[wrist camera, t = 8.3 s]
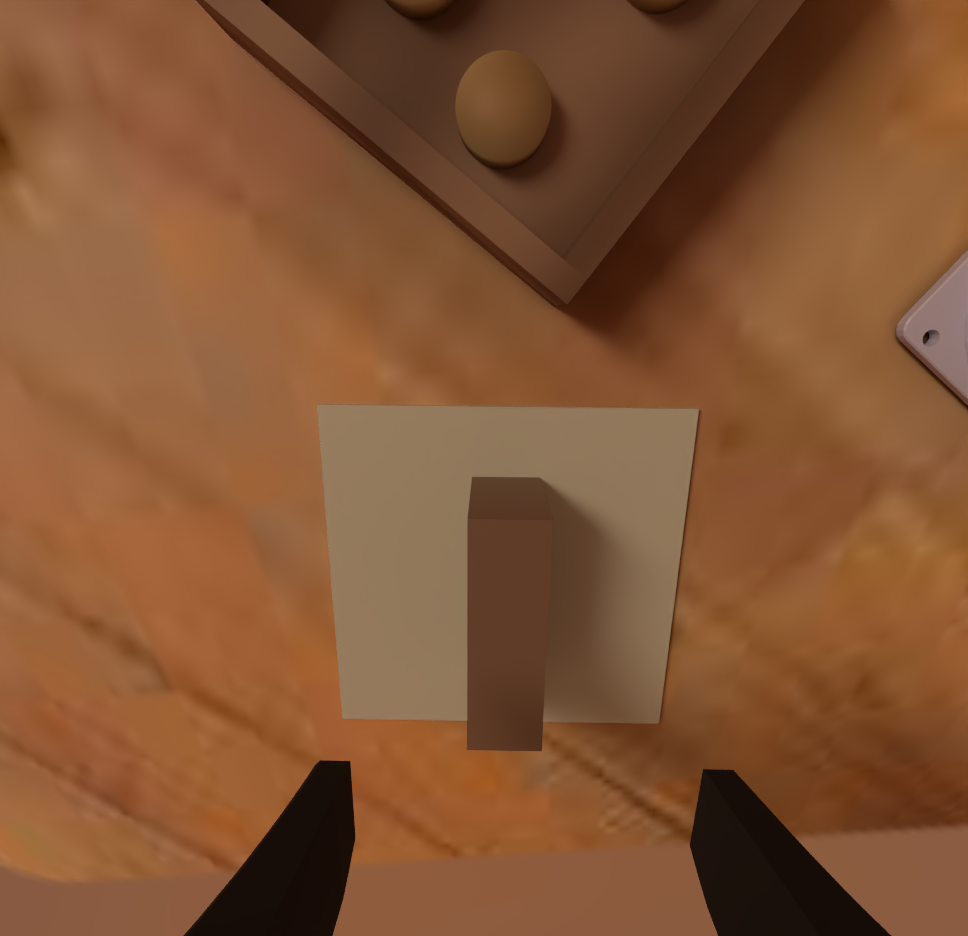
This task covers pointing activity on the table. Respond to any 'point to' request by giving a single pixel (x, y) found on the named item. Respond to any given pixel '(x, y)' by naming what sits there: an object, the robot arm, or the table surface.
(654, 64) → the wooden tray
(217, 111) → the table surface
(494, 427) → the lid
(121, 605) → the table surface
